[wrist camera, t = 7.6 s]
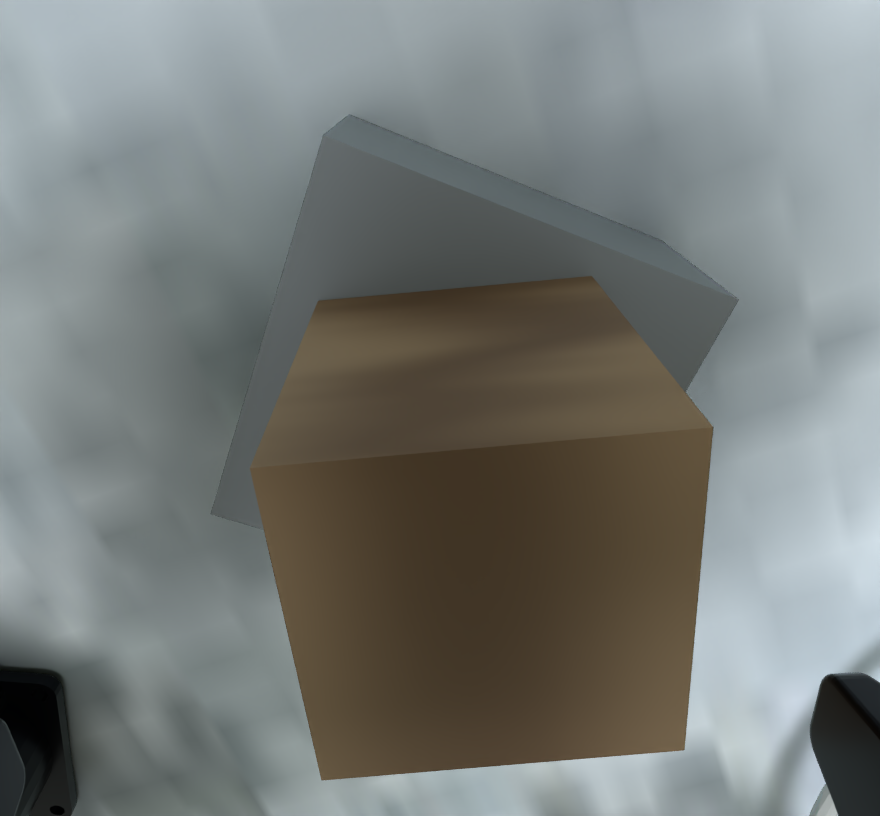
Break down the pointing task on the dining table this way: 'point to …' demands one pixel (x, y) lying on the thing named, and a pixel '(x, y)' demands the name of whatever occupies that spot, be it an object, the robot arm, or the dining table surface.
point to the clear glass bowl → (824, 804)
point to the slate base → (452, 264)
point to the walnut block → (484, 529)
